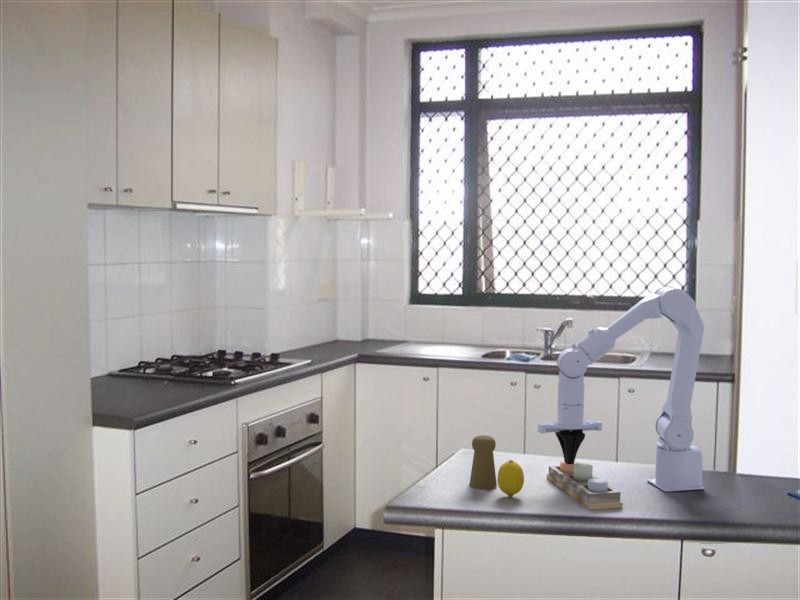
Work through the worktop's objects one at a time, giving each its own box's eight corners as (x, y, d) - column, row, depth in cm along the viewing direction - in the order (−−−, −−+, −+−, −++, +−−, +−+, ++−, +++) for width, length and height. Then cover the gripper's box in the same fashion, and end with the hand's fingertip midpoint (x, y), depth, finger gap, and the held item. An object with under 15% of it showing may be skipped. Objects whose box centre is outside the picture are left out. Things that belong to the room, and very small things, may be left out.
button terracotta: (573, 473, 189) (573, 460, 189) (581, 478, 185) (581, 465, 185) (556, 474, 188) (557, 461, 188) (564, 479, 184) (564, 466, 184)
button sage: (587, 476, 182) (587, 462, 182) (595, 481, 178) (595, 467, 178) (570, 477, 181) (570, 463, 181) (578, 482, 178) (578, 468, 177)
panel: (546, 478, 190) (546, 465, 190) (575, 476, 192) (576, 463, 191) (589, 509, 169) (590, 495, 168) (622, 507, 170) (622, 493, 170)
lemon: (522, 502, 173) (523, 464, 173) (496, 500, 174) (496, 462, 174) (524, 493, 179) (525, 457, 178) (498, 492, 180) (498, 455, 179)
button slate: (601, 491, 176) (602, 477, 175) (610, 497, 172) (611, 483, 172) (584, 493, 175) (584, 479, 175) (592, 499, 171) (593, 484, 171)
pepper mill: (465, 487, 183) (466, 438, 182) (474, 479, 188) (474, 432, 188) (492, 490, 181) (493, 440, 180) (499, 483, 186) (500, 434, 185)
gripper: (592, 398, 191) (591, 456, 192) (533, 400, 188) (531, 460, 189) (607, 404, 184) (605, 465, 185) (545, 407, 181) (544, 468, 182)
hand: (569, 463), depth 187 cm, fingers closed, pressing on button terracotta
